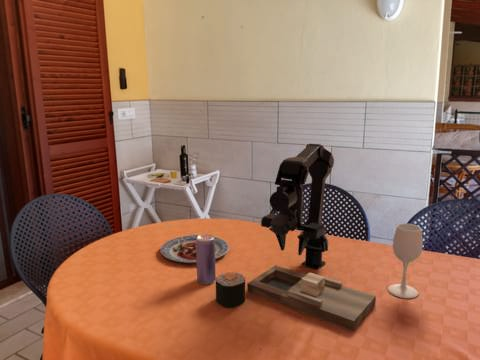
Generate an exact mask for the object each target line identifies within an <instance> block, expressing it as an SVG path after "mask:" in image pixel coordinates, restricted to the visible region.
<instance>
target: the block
mask: <svg viewBox="0 0 480 360" xmlns="http://www.w3.org/2000/svg"><path fill="white" fill-rule="evenodd" d="M324 284H325V276H322V275H320V274H315V273H312V272H308V273H307V274H306V276H304V277H303V278H302V279H301V291H302V292H305V293H308V294H311V295H314V296H317V295H319V294H320V293H321V292H322V291H323V290H324Z"/></svg>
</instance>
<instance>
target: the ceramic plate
mask: <svg viewBox="0 0 480 360" xmlns="http://www.w3.org/2000/svg"><path fill="white" fill-rule="evenodd" d="M199 235H200V234H191V235H183V236H180V237H174V238H173V239H172V238H171V239H170V240H168V241H166V242H165V243H163V245H162V246H161V247H160V253H161V255H162V256H164V257H165V258H167V259H168V260H171V261H173V262H174V261H175V262H179V263H189V264H190V263H193V264H194V263H195V264H196V263H197V258H196V240H197V236H199ZM214 239H215V260H216V259H218V258H221V257H223V256H225V255H226V254H227V253H228V252H229V249H230V245H229V243H228V242H227V241H226V240H225V239H223V238H220V237H218V236H217V237H216V236H214Z"/></svg>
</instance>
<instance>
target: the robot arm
mask: <svg viewBox="0 0 480 360" xmlns="http://www.w3.org/2000/svg"><path fill="white" fill-rule="evenodd" d="M334 164H335V158H334V155H333V154H332V152H330V151H329V150H328V149H326V148H325V147H324V145H323V144H321V143H307V144H306V146H305V147H304V149H303V150H302V151H301V152H299V153H298V154H297V155H296V156H294V157H287V158H285V159H283V160H282V161H281V163H280V164H279V168H278V171H277V175H276V178H275V181H274V185H276V190H275V191H274V192H273V193H271V195H270V197H269V204H270V207H271V208H272V210H274V211H275V212H278V214H276V213H269V214H266V215H264V216H262V217H261V220H260V225H261V227H264V228H267V229H268V228H269V229H268V230H269V231H270V232H272V233H274V234H275V237H276V239H277V243H278V245H279V247H280V251H284V250H285V247H286V241H287V240H286V239H287V235H288V234H289V232H294V231H296V230H297V231H301V232H299V234H298V235H297V239H298V253H297V254H298V256H301V255H302V253H303V252H304V250H305V260H304V261H302V262H301V263H300V264H301V266H304V267H307V268H310V269H314V270H319V269H320V268H322V267H323V266H325V264H326V263H327V262H326V261H323V253H325V252H328V251H329V240H328V237H327V235H326V227H325V226H324V224H323V222H322V219H323V207H324V201H325V188H326V180H327V179H328V177H329V176H330V175H331V174H332V168H333V167H334ZM308 176H310V178H311V184H310V196H309V201H308V203H309V205H308V213H307V214H308V216H307V221H306V222H305V218H304V217H303V210H304V209H305V204H303V201H304V185H306V183H307V179H308ZM304 222H305V224H303V223H304Z"/></svg>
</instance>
